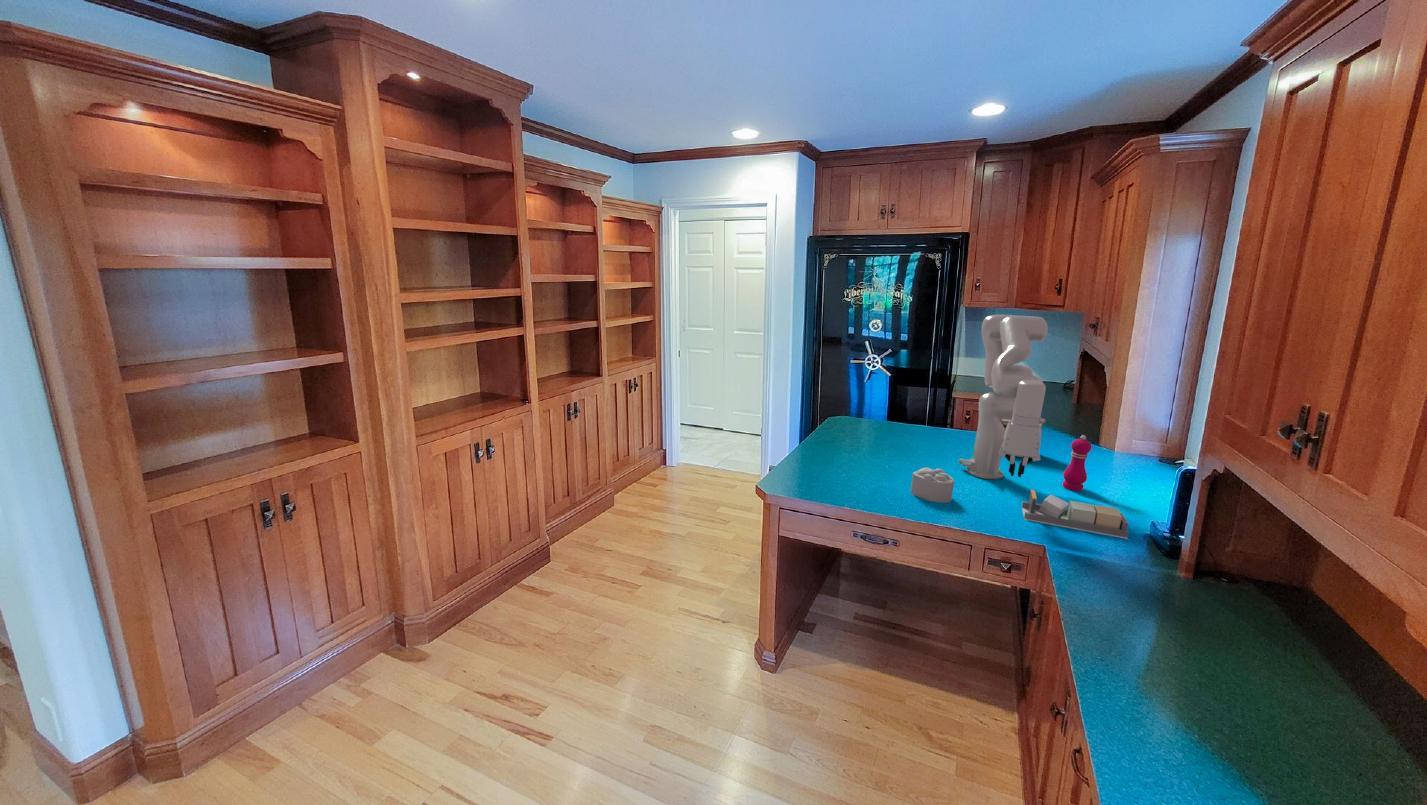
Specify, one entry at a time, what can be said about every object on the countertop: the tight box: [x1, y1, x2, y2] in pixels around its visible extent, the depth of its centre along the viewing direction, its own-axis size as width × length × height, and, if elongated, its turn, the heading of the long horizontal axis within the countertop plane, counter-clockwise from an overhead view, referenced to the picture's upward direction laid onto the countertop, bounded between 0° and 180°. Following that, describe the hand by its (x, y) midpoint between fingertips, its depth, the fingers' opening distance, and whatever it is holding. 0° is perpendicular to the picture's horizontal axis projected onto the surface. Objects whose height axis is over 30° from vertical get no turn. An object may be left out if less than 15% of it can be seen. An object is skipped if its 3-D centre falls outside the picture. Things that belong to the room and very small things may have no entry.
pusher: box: [1028, 489, 1038, 513], centre depth 177 cm, size 1×7×6 cm, turn 157°
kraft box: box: [1093, 504, 1122, 529], centre depth 170 cm, size 6×6×6 cm
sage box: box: [1067, 500, 1096, 524], centre depth 172 cm, size 6×6×6 cm
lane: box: [1021, 500, 1130, 540], centre depth 173 cm, size 27×11×5 cm, turn 66°
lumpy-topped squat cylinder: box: [910, 467, 955, 503], centre depth 191 cm, size 10×13×9 cm
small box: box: [1038, 494, 1069, 518], centre depth 175 cm, size 6×6×5 cm
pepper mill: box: [1062, 434, 1092, 492], centre depth 199 cm, size 7×7×20 cm
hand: (1015, 475), depth 177 cm, fingers closed
